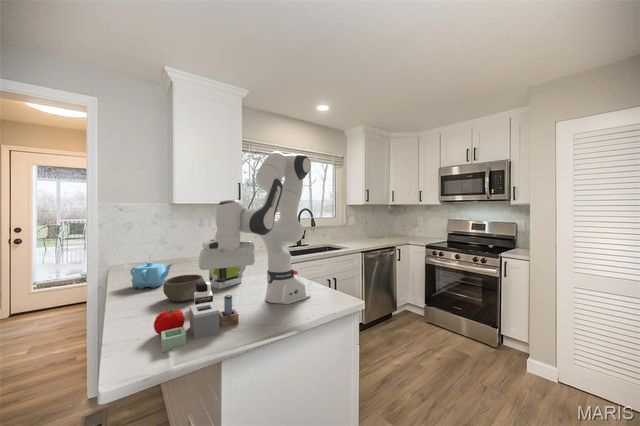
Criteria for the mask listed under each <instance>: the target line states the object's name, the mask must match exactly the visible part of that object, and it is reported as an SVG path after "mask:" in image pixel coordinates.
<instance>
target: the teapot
mask: <svg viewBox="0 0 640 426" xmlns="http://www.w3.org/2000/svg"><path fill="white" fill-rule="evenodd" d="M173 265H174V263H169V264H167V266H165V263H154V262H153V261H149V262H146V263H145V264H139V265H138V266H134V267H132V268H131V269H130V271H129V272H130V275H131V276H132V278H131V284H132V288H138V290H143V289H145V288H150V287H151V289H157V288H158V287H159V286H161V285H163V284H164V282H165V281H166V280H167V279H166V278H167V277H168V275H169V273H170V270H171V267H172V266H173Z"/></svg>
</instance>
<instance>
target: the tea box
mask: <svg viewBox="0 0 640 426" xmlns="http://www.w3.org/2000/svg"><path fill="white" fill-rule="evenodd" d="M240 270H241V268H240V266H237V267H228V268H218V269H214V272H213V274H214V275H217V281H212V275H211V274H210V272H209V271H208V272H209V273H208V274H209V277H208V278H209V279H208V280H209V281H208V282H210V283H211V286H212V287H211V288H215V289H219V290H220V289H224V288H227V287H231V286H234V285H237V284H238V285H239V284H241V283H242V278H243V277H241V278H238V276H237V275H238V274H237V273H238V272H240Z"/></svg>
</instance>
